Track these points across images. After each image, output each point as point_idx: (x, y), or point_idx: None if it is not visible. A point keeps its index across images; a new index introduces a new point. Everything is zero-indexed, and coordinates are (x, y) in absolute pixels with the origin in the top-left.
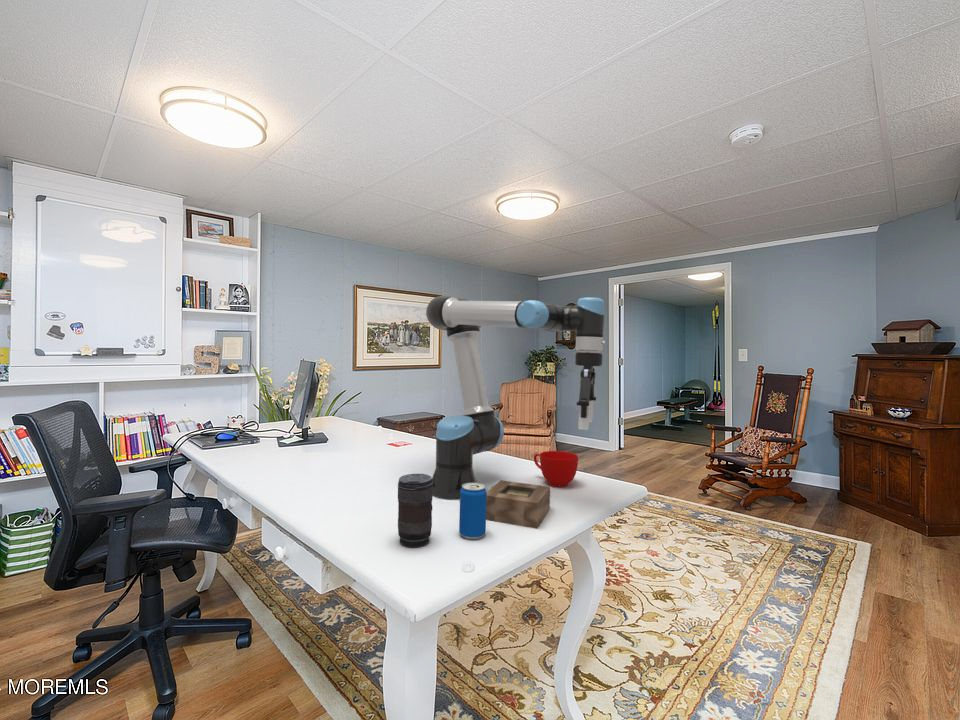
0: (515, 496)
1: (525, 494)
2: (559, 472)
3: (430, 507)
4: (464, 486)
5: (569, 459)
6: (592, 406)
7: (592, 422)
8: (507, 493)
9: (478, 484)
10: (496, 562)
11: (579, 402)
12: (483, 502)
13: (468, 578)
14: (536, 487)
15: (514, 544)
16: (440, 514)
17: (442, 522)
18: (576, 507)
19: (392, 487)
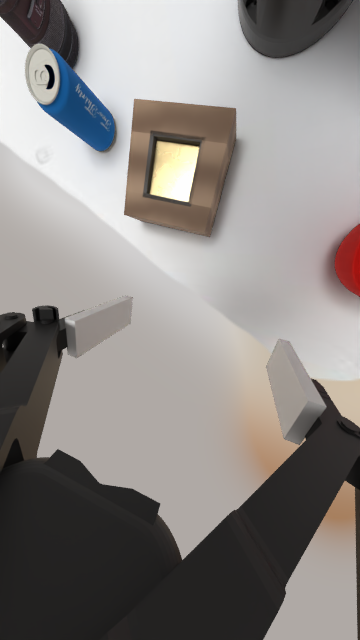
0: (142, 171)
1: (175, 188)
2: (338, 255)
3: (14, 23)
4: (38, 52)
5: (354, 281)
6: (278, 410)
7: (267, 367)
8: (173, 150)
9: (59, 81)
10: (60, 184)
11: (7, 315)
12: (58, 121)
13: (29, 162)
14: (196, 205)
15: (97, 197)
16: (155, 29)
17: (126, 56)
18: (224, 278)
19: None
